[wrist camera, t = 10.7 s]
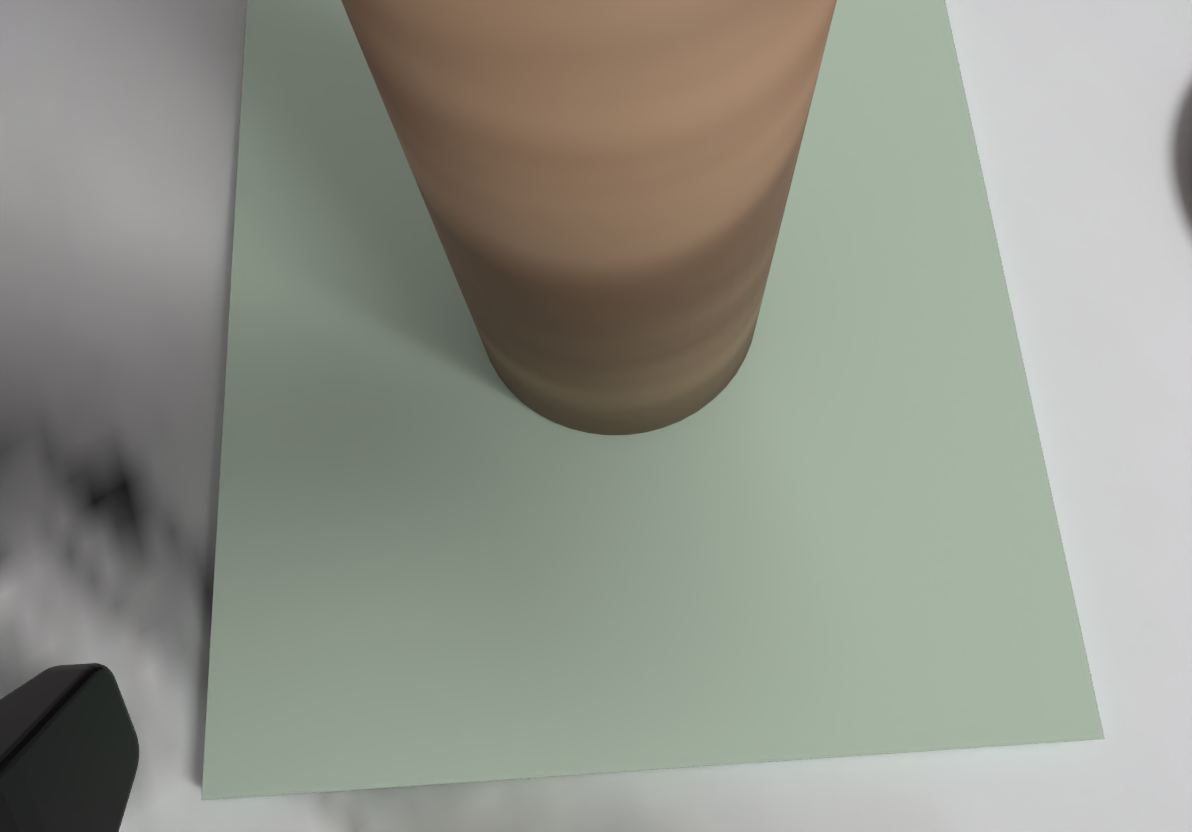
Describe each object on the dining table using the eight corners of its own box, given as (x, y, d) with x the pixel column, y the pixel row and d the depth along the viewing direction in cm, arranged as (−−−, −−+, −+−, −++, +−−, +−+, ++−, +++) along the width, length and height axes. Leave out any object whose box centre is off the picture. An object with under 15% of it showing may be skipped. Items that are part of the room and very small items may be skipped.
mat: (1093, 739, 15) (1104, 738, 15) (211, 798, 16) (201, 800, 15) (921, -69, 20) (926, -85, 20) (255, -14, 21) (248, -27, 20)
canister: (786, 434, 17) (1179, -475, 4) (470, 457, 17) (-31, -353, 4) (751, 161, 18) (955, -1038, 6) (465, 184, 18) (97, -937, 6)
